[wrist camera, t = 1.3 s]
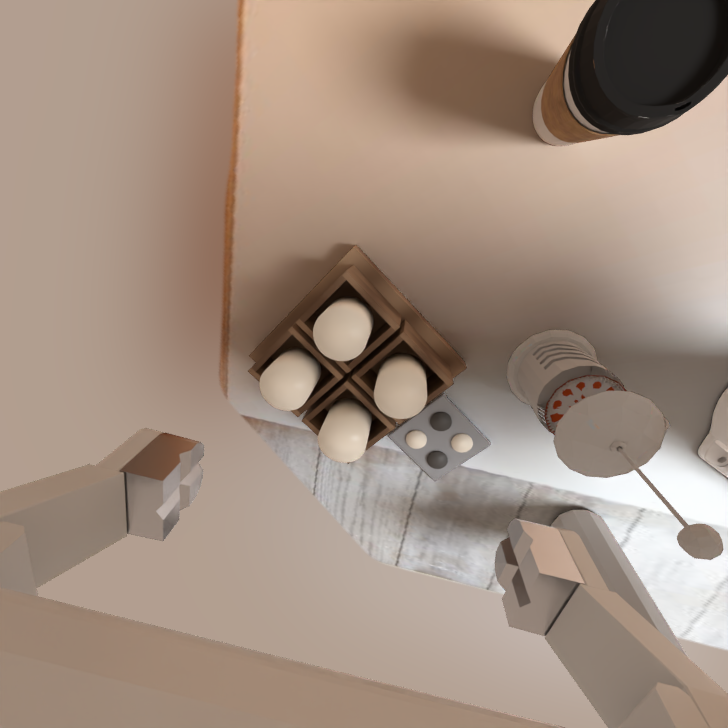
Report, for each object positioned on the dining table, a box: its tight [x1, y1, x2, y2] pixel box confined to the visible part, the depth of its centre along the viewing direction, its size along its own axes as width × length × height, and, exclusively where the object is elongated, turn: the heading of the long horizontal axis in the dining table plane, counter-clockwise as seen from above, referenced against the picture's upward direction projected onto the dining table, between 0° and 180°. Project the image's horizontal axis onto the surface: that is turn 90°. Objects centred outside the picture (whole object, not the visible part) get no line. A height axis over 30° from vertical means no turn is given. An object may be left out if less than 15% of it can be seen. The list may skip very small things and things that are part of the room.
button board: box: [248, 245, 467, 464], centre depth 42 cm, size 18×18×6 cm
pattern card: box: [389, 393, 491, 481], centre depth 47 cm, size 9×9×1 cm
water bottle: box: [551, 510, 689, 658], centre depth 38 cm, size 9×8×25 cm
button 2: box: [259, 347, 321, 411], centre depth 39 cm, size 5×5×5 cm
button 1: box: [313, 297, 374, 361], centre depth 36 cm, size 5×5×5 cm
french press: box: [506, 330, 723, 560], centre depth 31 cm, size 10×12×25 cm
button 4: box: [318, 398, 372, 463], centre depth 40 cm, size 5×5×5 cm
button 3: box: [374, 353, 427, 419], centre depth 37 cm, size 5×5×5 cm
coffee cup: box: [533, 0, 728, 146], centre depth 27 cm, size 8×8×15 cm
